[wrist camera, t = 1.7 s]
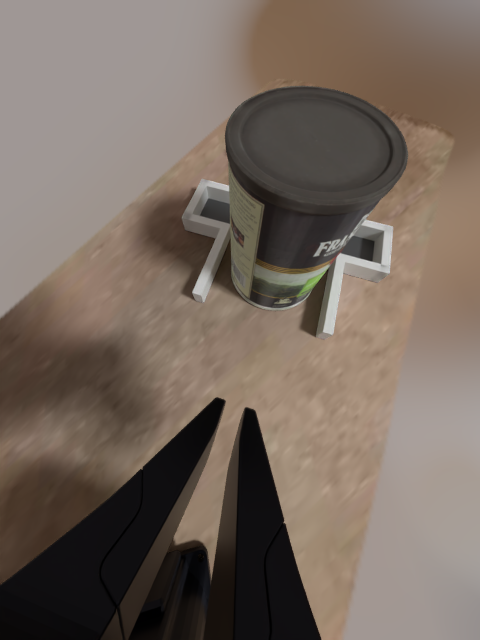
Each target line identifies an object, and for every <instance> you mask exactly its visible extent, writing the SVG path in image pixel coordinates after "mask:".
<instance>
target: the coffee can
mask: <svg viewBox="0 0 480 640" xmlns="http://www.w3.org/2000/svg"><path fill="white" fill-rule="evenodd" d="M225 142H226V152H227V157H228V167H229V199H230V233H231V264H232V266H231V277H232V281H233V284H234V286H235V288H236V290H237V291H238V293H239V294H240V295H241V296H242V297H243V298H244V299H245V300H246V301H247V302H249V303H250V304H252V305H254V306H256V307H259V308H261V309H265V310H271V311H281V310H286V309H290V308H293V307H295V306H297V305H299V304H300V303H301V302H303V301H304V300H305V299H306V298H307V297H308V296H309V294H310V293H311V291H312V289H313V288H314V287H315V285H316V284H317V283H318V281H319V280H320V279H321V277H322V276H323V275H324V273H325V272H326V271H327V269H328V268H329V267H330V265H331V264H332V263H333V261H334V260H335V259H336V257H337V256H338V255H339V254H340V252H341V251H342V250H343V248H344V247H345V246H346V244H347V243H348V242H349V240H350V239H351V238H352V236H353V235H354V234H355V233H356V231H357V230H358V229H359V227H360V226H361V225H362V223H363V222H364V221H365V219H366V218H367V217H368V215H369V214H370V213H371V211H372V210H373V209H374V207H375V206H376V205H377V203H378V202H379V201H380V200H381V198H383V197H384V196H385V195H386V194H387V193H388V192H389V191H390V190H391V189H392V188H393V186H394V185H395V184H396V183H397V181H398V180H399V179H400V177H401V176H402V174H403V172H404V170H405V168H406V165H407V159H408V151H407V146H406V142H405V139H404V137H403V135H402V133H401V131H400V130H399V128H398V127H397V126H396V125H395V123H394V122H393V121H392V120H391V119H390V118H389V117H388V116H387V115H386V114H385V113H383V112H382V111H381V110H379V109H378V108H376V107H375V106H373V105H372V104H370V103H368V102H366V101H364V100H362V99H360V98H358V97H355V96H353V95H350V94H348V93H344V92H341V91H338V90H333V89H328V88H322V87H313V86H290V87H282V88H277V89H272V90H268V91H265V92H263V93H260V94H257V95H255V96H253V97H251V98H249V99H248V100H246V101H244V102H243V103H242V104H241V105H240V106H238V107H237V108H236V110H235V111H234V112H233V113H232V115H231V117H230V119H229V120H228V123H227V126H226V132H225Z"/></svg>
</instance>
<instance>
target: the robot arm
mask: <svg viewBox="0 0 480 640" xmlns="http://www.w3.org/2000/svg"><path fill="white" fill-rule="evenodd" d="M225 403H226V401H225V400H224V399H221V398H218V397H217V398H215V399H214V400H213V401H212V402H211V403H209V404H208V405H207V406H206V407H205V408H204V409H203V410H202V411H201V412H200V413H199V414H198V415H197V416H196V417H195V418H194V419H193V420H192V421H191V422H190V423H189V424H187V425H186V426H185V427H184V428H183V429H182V430H181V431H180V432H179V433H178V434H177V435H176V436H175V437H174V438H173V439H172V440H171V441H170V442H169V443H168V444H167V445H165V446H164V447H163V448H162V449H161V450H160V451H159V452H158V453H157V454H156V455H155V456H154V457H153V458H152V459H151V460H150V461H149V462H148V463H147V464H146V465H145V466H143V470H142V469H140V470H139V471H138V472H137V473H136V474H135V475H134V476H133V477H132V478H131V479H130V480H129V481H127V482H126V483H125V484H124V485H123V486H122V487H121V488H120V489H119V490H118V491H116V492H115V493H114V494H113V495H112V496H111V497H110V498H109V499H107V500H106V501H105V502H104V503H103V504H101V505H100V506H99V507H98V508H97V509H95V510H94V511H93V512H92V513H91V514H89V515H88V516H87V517H86V518H85V519H83V520H82V521H81V522H80V523H78V524H77V525H76V526H75V527H73V528H72V529H71V530H70V531H68V532H67V533H66V534H65V535H63V536H62V537H61V538H59V539H58V540H57V541H56V542H54V543H53V544H52V545H51V546H49V547H48V548H47V549H46V550H44V551H43V552H42V553H41V554H39V555H38V556H37V557H36V558H34V559H33V560H32V561H31V562H29V563H28V564H27V565H26V566H24V567H23V568H22V569H21V570H19V571H18V572H17V573H15V574H14V575H13V576H12V577H10V578H9V579H7V580H6V581H5V582H3V583H2V584H1V585H0V640H321V637H320V634H319V631H318V628H317V625H316V622H315V619H314V616H313V613H312V611H311V608H310V605H309V602H308V599H307V595H306V592H305V589H304V586H303V583H302V580H301V577H300V574H299V571H298V567H297V564H296V560H295V557H294V553H293V550H292V546H291V543H290V539H289V535H288V532H287V528H286V524H285V523H283V522H284V517H283V513H282V509H281V506H280V502H279V498H278V494H277V490H276V487H275V483H274V479H273V475H272V471H271V468H270V464H269V460H268V456H267V452H266V449H265V445H264V441H263V437H262V433H261V430H260V426H259V422H258V418H257V414H256V411H255V410H254V409H251V408H248V407H246V408H245V409H244V411H243V414H242V417H241V420H240V423H239V427H238V431H237V435H236V438H235V442H234V446H233V450H232V454H231V458H230V462H229V467H228V472H227V478H226V485H225V492H224V499H223V506H222V513H221V519H220V526H219V533H218V540H217V547H216V554H215V560H214V567H213V574H212V581H211V574H210V567H209V559H208V552H207V549H206V548H205V547H204V546H199V547H195V548H192V549H189V550H185V551H182V552H180V551H178V550H176V551H173V552H169V553H167V551H168V548H169V546H170V544H171V542H172V539H173V537H174V535H175V533H176V530H177V528H178V526H179V524H180V521H181V519H182V517H183V515H184V512H185V510H186V508H187V505H188V503H189V501H190V499H191V496H192V494H193V492H194V490H195V487H196V485H197V483H198V481H199V478H200V476H201V474H202V472H203V469H204V467H205V465H206V462H207V460H208V457H209V454H210V451H211V448H212V445H213V442H214V439H215V436H216V433H217V429H218V426H219V423H220V420H221V417H222V414H223V410H224V406H225ZM199 554H203V556H204V557H203V558H199V556H198V555H199Z"/></svg>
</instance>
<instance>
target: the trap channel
mask: <svg viewBox="0 0 480 640" xmlns="http://www.w3.org/2000/svg"><path fill="white" fill-rule="evenodd" d="M182 222H183V225H184V228H185V230H186V231H190V232H194V233H197V234H201V235H205V236H208V237H212V238H216V239H215V242H214V244H213V246H212V248H211V251H210V253H209V255H208V258H207V260H206V262H205V264H204V267H203V269H202V271H201V274H200V276H199V278H198V280H197V283H196V285H195V287H194V290H193V292H192V294H193V296H194V298H195V301H198V302H201V303H204V302H205V299H206V297H207V294H208V292H209V289H210V287H211V284H212V282H213V279H214V277H215V275H216V272H217V270H218V267H219V265H220V262H221V260H222V257H223V255H224V253H225V250H226V248H227V245H228V243H229V240H230V238H231V233H230V199H229V185H225V184H221V183H217V182H213V181H209V180H205V179H202V180H201V182H200V184H199V186H198V187H197V189H196V191H195V193H194V195H193V197H192V199H191V201H190V203H189V204H188V206H187V208H186V210H185V212H184V214H183V216H182ZM392 236H393V227H392V226H388V225H384V224H380V223H376V222H372V221H368V220H365V221H364V222H363V223H362V225H361V226H360V227H359V229H358V230H357V231H356V233H355V234H354V235H353V236H352V238H351V239H350V240H349V242H348V243H347V244H346V246H345V247H344V248H343V250H342V251H341V252H340V254H339V255H338V256H337V257H336V259H335V260H334V261H333V263H332V264H331V265H330V267H329V271H328V276H327V281H326V286H325V291H324V296H323V301H322V306H321V312H320V317H319V322H318V327H317V332H316V337H317V338H321V339H324V340H325V339H327V338H328V337H330V336H332V335H333V332H334V326H335V320H336V314H337V308H338V302H339V296H340V290H341V284H342V278H343V273H344V274H347V275H351V276H355V277H358V278H362V279H366V280H369V281H373V282H377V283H378V282H379V281H381V280H382V279H383V278H385V277H386V276H387V275H389V274H390V262H391V249H392Z"/></svg>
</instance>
